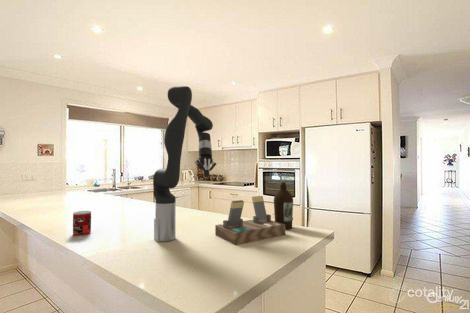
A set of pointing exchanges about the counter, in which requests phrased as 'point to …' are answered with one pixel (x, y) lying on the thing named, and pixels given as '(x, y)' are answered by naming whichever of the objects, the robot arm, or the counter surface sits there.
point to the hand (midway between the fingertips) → (206, 177)
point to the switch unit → (249, 230)
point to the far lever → (259, 208)
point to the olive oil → (283, 206)
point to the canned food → (81, 223)
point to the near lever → (235, 212)
